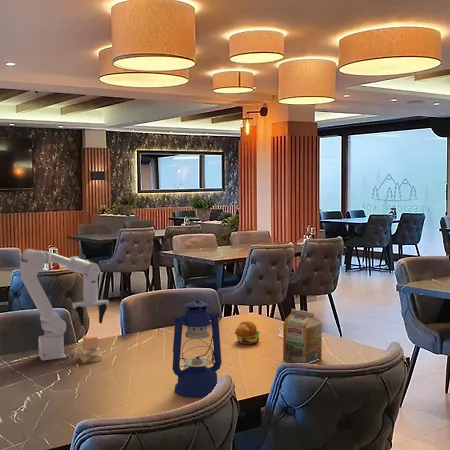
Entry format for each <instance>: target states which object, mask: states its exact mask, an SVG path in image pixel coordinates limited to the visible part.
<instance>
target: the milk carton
mask: <svg viewBox="0 0 450 450" xmlns="http://www.w3.org/2000/svg"><path fill="white" fill-rule="evenodd" d="M282 328H283V330H282V331H283V334H282V336H283V338H282V339H283V343H282V344H283V345H282V347H283V349H282V351H283V352H282V355H283V356H282V358H283V361H287V362H292V363H295V362H299V363H309V362H311V361H314V360H317V359H320V358H322V356H323V355H322V350H323V349H322V344H323V343H322V340H323V335H322V334H323V331H322V330H323V323H322V321H321V320H320V319H319V318H317V317H316V316H315V313H314V312H311V311H305V310H300V309H295V308H291V313H289V315H288V316H287V317H286V318H285V320H284V321H283V327H282ZM320 360H321V359H320ZM299 363H298V364H299Z"/></svg>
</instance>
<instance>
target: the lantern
mask: <svg viewBox="0 0 450 450" xmlns="http://www.w3.org/2000/svg"><path fill="white" fill-rule="evenodd" d="M208 306H210V304H209V303H208V302H204V301H201V300H194V301H190V302H187V303H184V307H187V310H185V314H181V315H179V317H178V316H175V317H174V318H173V321H174V331H173V346H172V352H173V353H172V354H173V355H172V366H171V367H172V371H173V374H174V375H175V376H177V383H176V384H175V385H174V393H176V395H178V396H180V397H185V398H190V399H192V398H193V399H203V397H204V398H206V397H205V396H207V395H208V394H209V393H211V392H212V390H213V389H214V387H215V386H216V384H217V382H218V375H217V374H218V373H217V371H219V370H220V369H221V366H222V363H223V361H222V350H221V338H220V336H221V334H220V326H219V325H220V324H219V317H220V313H219V312H218V311H217V312H215V313H214V312H212V311H209V310H208V309H207V308H208ZM210 320H211V321H210ZM183 326H185V327H187V331H186V332H185V334H184V337H185V338H187V340H186V341H185V342H184V343H183V345H182V336H183ZM209 326H211V332H212V333H211V339H210V345H209V344H208V342H206V341H204V340H203V339H207V338H209V337H210V332H209V331H208V330H207V329H208V327H209ZM190 340H199V341H202V342H204V343H205V345H200V346H199V345H198V346H195V347H191V348H188V349H187V350H185V351H184V353H186V352H188V351H189V350H192V349H195V348H202V347H205V348H206V347H207V348H208V349H207V351H206V352H205V354H202V355H201V354H200V355H197V356H195V357H193V358H192V357H191V358H186V357H184V353H182V350H183V349H184V347H185V344H186V343H187V342H188V341H190ZM212 344H213V348H212ZM210 350H211V353H210V354H209V355H208V356H207V358H204V356H206V355H207V354H208V353H209V351H210ZM210 356H211V359H209V357H210ZM181 360H183V365H181ZM211 364H212V366H211V367H208V366H210V365H211ZM183 367H184V369H181V368H183Z"/></svg>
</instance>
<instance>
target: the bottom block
mask: <svg viewBox="0 0 450 450" xmlns="http://www.w3.org/2000/svg"><path fill="white" fill-rule="evenodd" d="M78 355H79V358H80V359H79V360H80V361H81V362H82V363H83V364H86V363H87V364H88V363H95V362H101V361H103V360H102V355H101V354H100V356H92V357H85V358H84V357H83V356H82V355H81V352H79V354H78Z"/></svg>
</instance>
